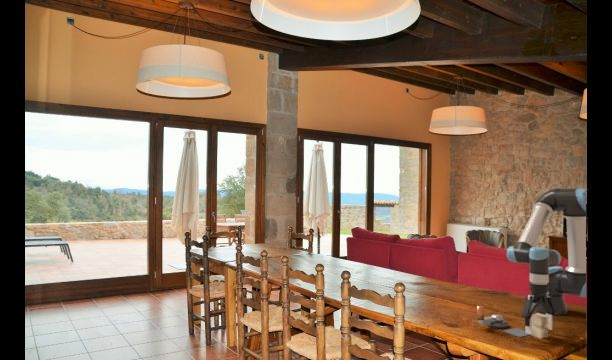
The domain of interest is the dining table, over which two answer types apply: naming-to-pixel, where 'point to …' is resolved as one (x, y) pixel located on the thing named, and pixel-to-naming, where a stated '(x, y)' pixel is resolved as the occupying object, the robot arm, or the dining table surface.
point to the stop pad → (516, 332)
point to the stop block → (539, 325)
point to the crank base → (498, 325)
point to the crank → (487, 319)
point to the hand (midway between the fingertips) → (539, 331)
